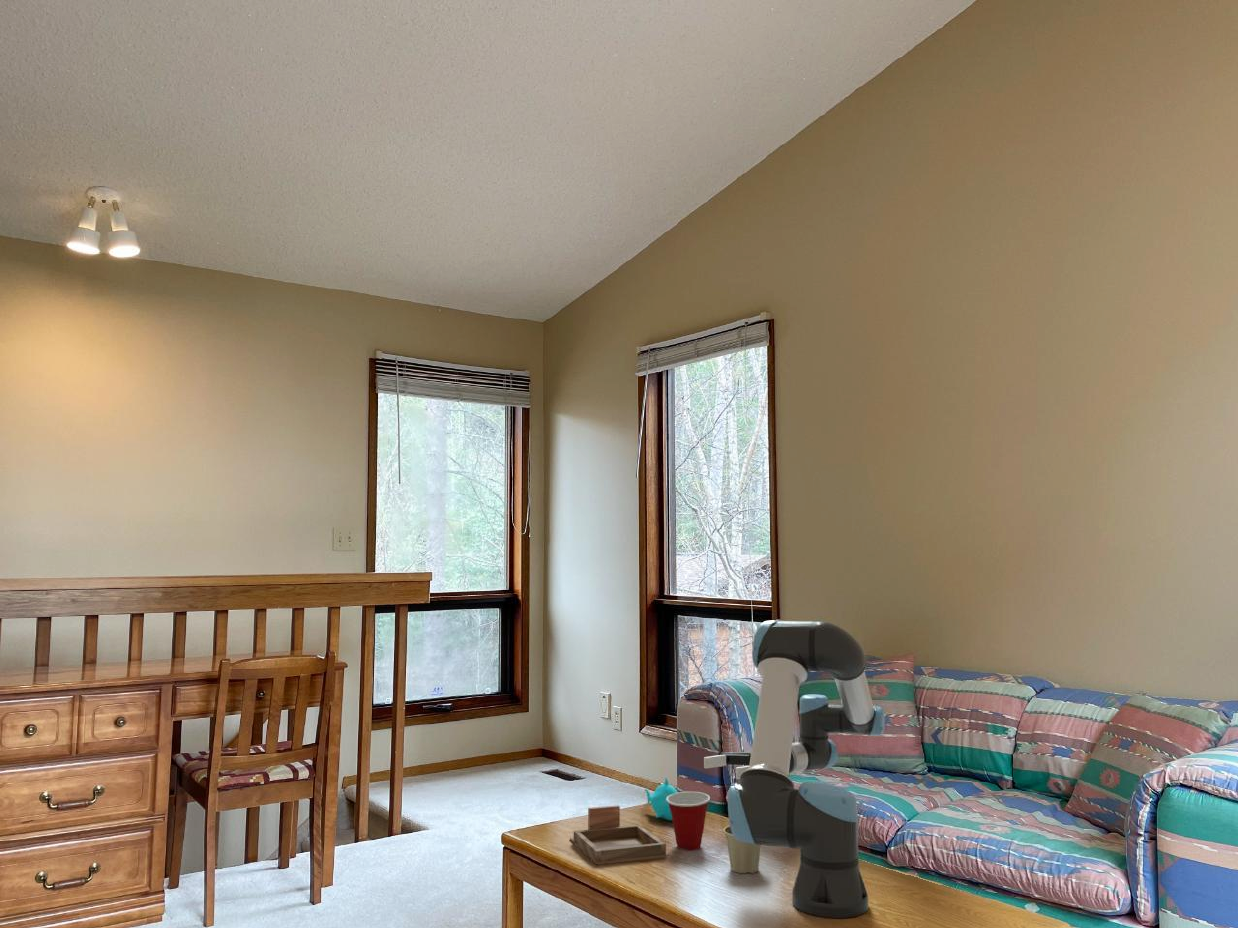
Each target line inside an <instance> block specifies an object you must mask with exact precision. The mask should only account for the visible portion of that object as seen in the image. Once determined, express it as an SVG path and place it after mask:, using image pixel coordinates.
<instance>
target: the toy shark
mask: <svg viewBox="0 0 1238 928" xmlns="http://www.w3.org/2000/svg"><path fill="white" fill-rule="evenodd" d="M644 790H645V793H646V796H647V802H646V803H647V804H650V806H651V808H652V810H653V811H654V812H655V813H656V816H655V818H659V817H660V818H662V819H664V820H667V821H671V822H673V821H672V815H671V811H670V807H669V804H668V802H667V801H666V798H667V797H668V796H669V795H671V794H675V793H679V792H678V790H677V789H676V788H675V787H674V786H672V785H671V784H669V782H668V778H667V777H665V779H664V783H663V784H659V785H658V786H657V787H656V789H655V790H654V791H653V792H652V794H650V792H649V790H648V789H647V788H645V789H644Z"/></svg>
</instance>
